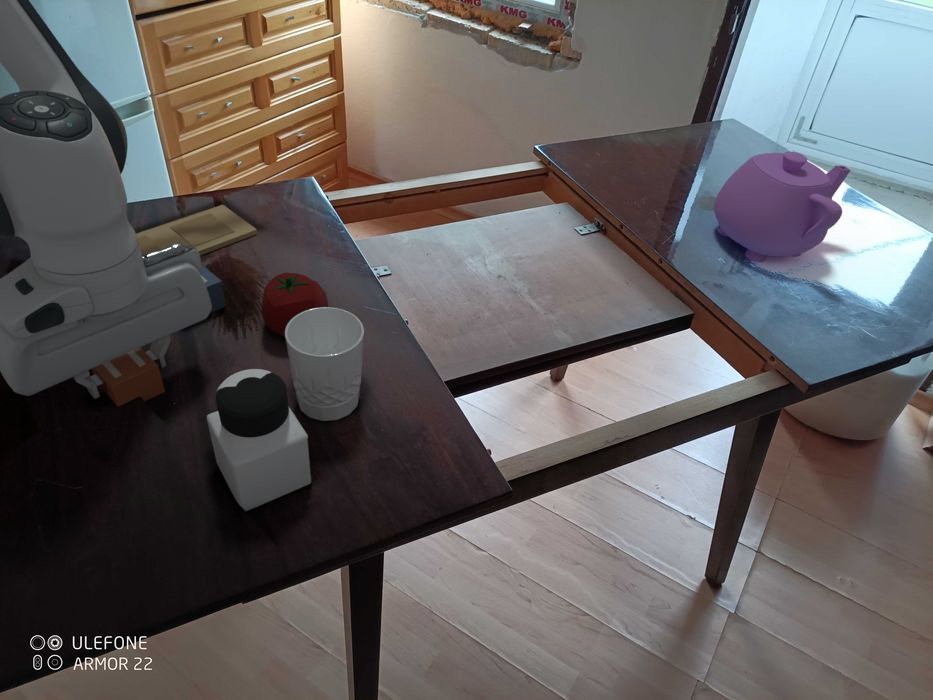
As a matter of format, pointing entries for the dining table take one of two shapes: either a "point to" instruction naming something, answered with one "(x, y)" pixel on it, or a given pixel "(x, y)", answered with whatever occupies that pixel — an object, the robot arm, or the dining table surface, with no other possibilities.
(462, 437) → the dining table surface
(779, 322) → the dining table surface
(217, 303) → the tile
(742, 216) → the teapot
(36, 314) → the robot arm
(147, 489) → the dining table surface
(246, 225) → the word board
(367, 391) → the dining table surface
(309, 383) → the white cup
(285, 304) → the tomato
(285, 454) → the medicine bottle
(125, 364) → the tile
